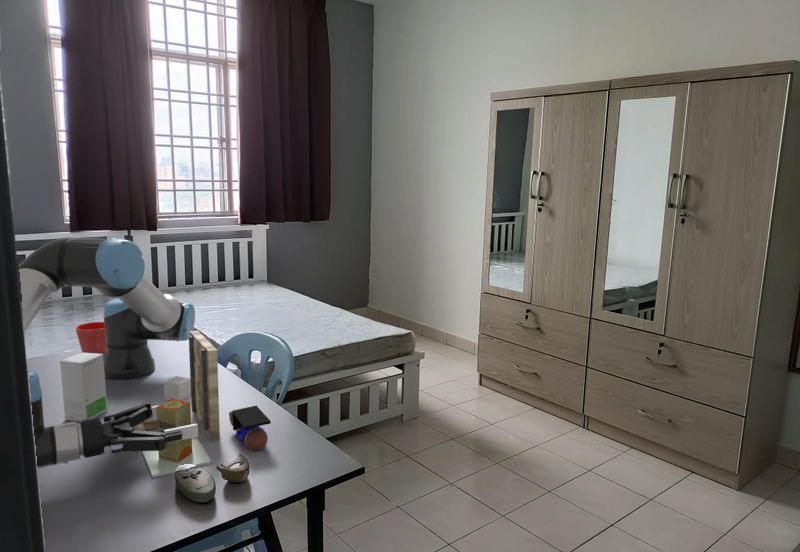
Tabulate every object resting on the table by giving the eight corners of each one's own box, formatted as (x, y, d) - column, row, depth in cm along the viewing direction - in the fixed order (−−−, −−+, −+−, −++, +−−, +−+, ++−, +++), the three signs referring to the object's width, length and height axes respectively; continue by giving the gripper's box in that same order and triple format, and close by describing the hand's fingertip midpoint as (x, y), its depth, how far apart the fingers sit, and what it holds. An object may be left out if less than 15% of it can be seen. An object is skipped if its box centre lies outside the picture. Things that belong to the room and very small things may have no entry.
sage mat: (142, 453, 130) (142, 450, 130) (197, 441, 136) (197, 438, 136) (152, 477, 120) (152, 475, 120) (211, 463, 127) (211, 460, 126)
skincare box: (85, 423, 144) (81, 363, 141) (62, 420, 145) (57, 361, 142) (108, 410, 152) (104, 353, 149) (86, 407, 153) (82, 350, 150)
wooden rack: (134, 423, 145) (129, 338, 140) (200, 410, 153) (197, 330, 149) (147, 454, 130) (141, 360, 126) (219, 437, 138) (217, 349, 134)
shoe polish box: (177, 462, 125) (175, 410, 123) (158, 458, 127) (156, 407, 125) (192, 452, 130) (190, 402, 128) (174, 448, 131) (171, 398, 129)
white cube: (164, 399, 160) (163, 382, 159) (176, 392, 165) (175, 376, 164) (179, 401, 159) (178, 384, 158) (191, 395, 163) (190, 378, 163)
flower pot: (86, 348, 201) (84, 321, 199) (118, 348, 202) (117, 321, 200) (71, 358, 190) (69, 329, 188) (106, 358, 191) (104, 330, 189)
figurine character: (227, 436, 143) (245, 456, 130) (225, 406, 142) (243, 423, 129) (254, 430, 146) (274, 449, 133) (253, 401, 145) (272, 417, 132)
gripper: (77, 432, 128) (177, 413, 139) (87, 485, 107) (204, 457, 119) (74, 400, 127) (176, 383, 138) (84, 448, 106) (203, 423, 117)
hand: (189, 418), depth 128 cm, fingers open, 13 cm apart
